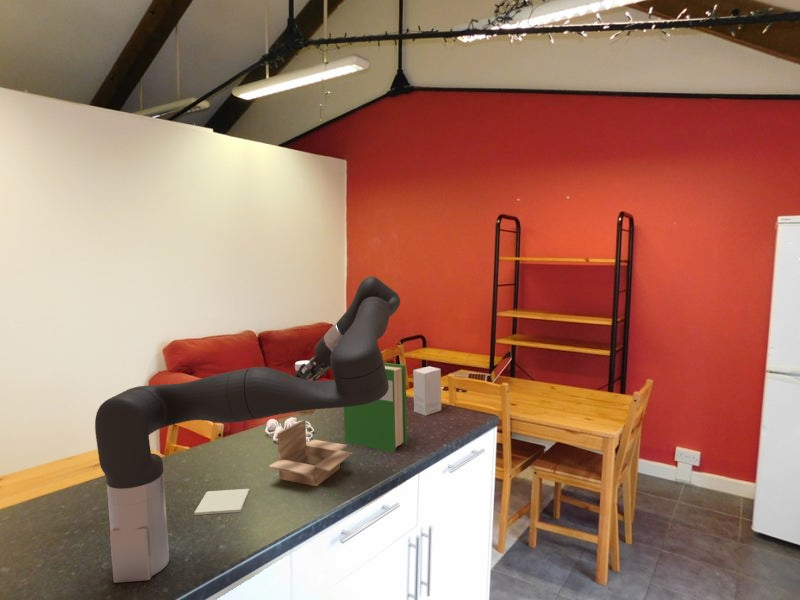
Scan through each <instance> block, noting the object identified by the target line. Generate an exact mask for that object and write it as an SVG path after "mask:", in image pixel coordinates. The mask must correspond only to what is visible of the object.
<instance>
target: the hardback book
mask: <svg viewBox="0 0 800 600" xmlns="http://www.w3.org/2000/svg"><path fill="white" fill-rule="evenodd" d="M384 366H385V370H386V374H387V378H388V384H389V388H388V391H387V393H386V394H385V395H384V396H383V397H382V398H381V399H379V400H377V401H375V402H372V403H369V404H365V405H359V406H352V407H343V417H344V418H343V420H344V423H343V424H344V425H343V426H344V442H345V443H350V444H354V445H357V446H358V445H360V446H363V447H367V448H372V449H377V450H381V451H386V452H390V453H395V452H396V451H397V448H398V446H400V445H403V446H406V445H408V432H407V431H408V426H407V425H408V423H407V421H408V419H407V418H408V417H407V416H408V415H407V376H406V375H407V371H406V370H407V369H406V367H407V365H406V364H398V363H390V362H389V363H388V362H384Z"/></svg>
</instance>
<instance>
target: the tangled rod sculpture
mask: <svg viewBox="0 0 800 600" xmlns="http://www.w3.org/2000/svg"><path fill="white" fill-rule="evenodd" d="M300 421H301V420H299V421H298V419H297V417H292V416H291V417H290V418H286V419H285V420H284V423H283V424H284V426H282V423H280V422H278V420H276V419H275V418H271V419H269V420H268V421H266V426H265V430H264V431H265V433H266V434H267V435H269V436H270V435H273V436H272V439H273V442H278V433H279V432H281V431H283V430H285V429H287V428H289V427H290V426H292V425H294V424H296V423H298V422H300ZM305 424H306V443H308V442H309V441H311V439H312V438H313V437H314V435H313V432H315V429H314V427H312V424H311V423H310V422H309V421H307V420H305ZM309 428H310V429H311V431H308V429H309ZM309 435H310V436H309Z"/></svg>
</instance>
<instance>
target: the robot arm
mask: <svg viewBox="0 0 800 600" xmlns="http://www.w3.org/2000/svg"><path fill="white" fill-rule="evenodd" d="M400 304H401V299H400V296H399V294H398V293H397V292H396V291H395V290H393V289H392V288H391V287H389V286H388V285H387V284H386V283H385V282H383V281H382V280H380V279H379V278H378V277H376V276H367V277H366V278H364V279H363V280H362V281H360V283H359V285H358V287H357V290H356V292H355V295H354V297H353V299H352V301H351V304H350V305H349V307H348V309H347V310H346V311H345V312H344V314H343V315H342V316H341V317H340V319H338V320H337V322H336V323H334V324H333V326H332V327H330V328H329V329H328V331H327V332H326V333H325V334H324V335H323V336H322V337H321V339H320V340H319V341H318V342H317V343H316V345H315V346H314V355H315V356H312V357H311V359H309V360H308V361H309V363H308V364H307V365H306V364H305V363H304V364H302V365H301V367H300V368H299V370H298V371H297V373H296V372H295V374H294V375H292V374H289V373H286V372H283V371H282V370H281V371H280V370H279V369H274V368H270V367H266V366H254V367H248V368H243V369H238V370H232V371H228V372H224V373H219V374H213V375H209V376H205V377H203V378H199V379H195V380H191V381H186V382H181V383H170V384H166V383H165V384H153V385H139V386H134V387H131V388H128V389H126V390H125V391H122V392H121V393H119V394H116V395H114V396H112V397H110V398H108V399H107V400H105V401H104V402H103V403H101V404H100V406H99V407H98V409H97V411H96V414H95V420H94V421H95V422H94V430H95V440H96V446H97V454H98V461H99V466H100V469H101V471H102V472H103V474H104V476H105V479H106V490H107V491H106V492H107V503H108V505H107V506H108V507H107V508H108V516H109V519H108V520H109V529H110V530H109V531H110V532H109V538H110V539H109V540H110V551H111V565H112V577H113V583H115V584H117V583H127V582H131V583H132V582H141V581H150V580H151V579H152V577H153V576H154V575H156V574H158V573H159V572H161V571H163V570H164V569H165V567H167V566H168V565H169V562H170V552H169V551H170V550H169V549H170V548H169V537H168V523H167V522H168V521H167V508H166V507H167V504H166V492H165V474H164V473H165V472H164V461H163V457H161V456H160V455H159V454H156V453H152V451H151V444H150V435H151V434H153V433H154V432H156V431H158V430H160V429H163V428H166V427H169V426H174V425H176V424H177V425H178V424H180V423H187V422H191V421H206V422H213V423H221V424H228V423H229V424H234V423H241V422H248V421H251V420H252V421H253V420H259V419H265V418H267V417H272V416H277V415H284V414H290V413H298V411H305V410H314V409H315V410H325V409H339V408H344V407H352V406H359V405H365V404H369V403H372V402H375V401H377V400H379V399H381V398H382V397H383V396H384V395H385V394H386V393H387V391H388V388H389V384H388V378H387V374H386V370H385V366H384V363H385V361H384V358H383V354H382V351H381V348H380V347H379V343H378V340H379V339H381V338H382V337H383V336H384V334H385V333H386V331H387V329H388V326H389V321H390V318H391V317H392V316H393V315H394V314H395V313H396V312H397V310H398V309H399V308H400V306H401V305H400ZM330 369H331V370H332V371H331V372H332V376H333V379H331V380H318V379H319V378H320V377H323V376H324V375H325V374H326V373H327V371H329V370H330ZM310 372H311V373H312V374H313V375H311V374H310ZM309 379H313V381H311V380H309Z"/></svg>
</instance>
